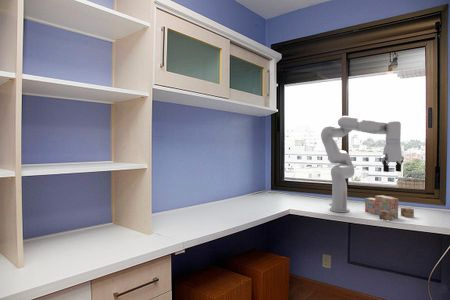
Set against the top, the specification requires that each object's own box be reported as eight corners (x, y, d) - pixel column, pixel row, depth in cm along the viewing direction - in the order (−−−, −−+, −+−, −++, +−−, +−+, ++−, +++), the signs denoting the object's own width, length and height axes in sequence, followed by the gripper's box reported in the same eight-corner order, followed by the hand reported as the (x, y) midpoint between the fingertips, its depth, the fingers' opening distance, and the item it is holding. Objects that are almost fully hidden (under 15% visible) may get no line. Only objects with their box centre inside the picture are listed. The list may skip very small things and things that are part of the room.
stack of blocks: (364, 211, 203) (364, 193, 203) (372, 210, 204) (372, 193, 204) (390, 218, 182) (390, 198, 182) (398, 217, 184) (398, 198, 184)
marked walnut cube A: (379, 219, 180) (379, 210, 180) (384, 218, 183) (384, 209, 183) (387, 220, 176) (387, 212, 176) (392, 219, 179) (392, 211, 179)
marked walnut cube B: (400, 215, 190) (400, 207, 190) (407, 215, 191) (407, 207, 191) (406, 217, 185) (406, 209, 185) (413, 217, 186) (413, 209, 186)
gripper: (398, 142, 179) (397, 170, 180) (376, 142, 173) (375, 171, 174) (409, 142, 172) (408, 171, 173) (387, 142, 166) (386, 172, 167)
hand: (392, 171), depth 173 cm, fingers open, 9 cm apart
